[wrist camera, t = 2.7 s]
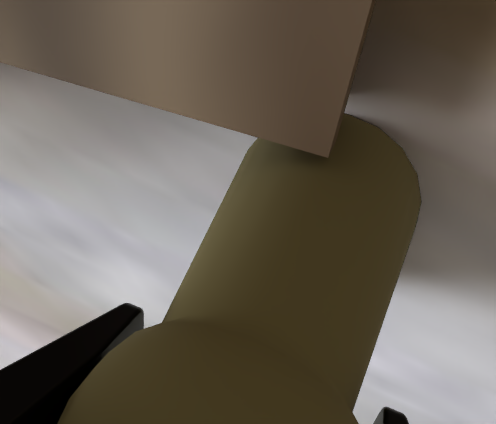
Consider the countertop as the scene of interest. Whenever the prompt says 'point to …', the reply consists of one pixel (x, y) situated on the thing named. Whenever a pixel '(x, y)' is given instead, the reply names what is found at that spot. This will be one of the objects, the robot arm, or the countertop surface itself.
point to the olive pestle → (273, 295)
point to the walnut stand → (203, 58)
